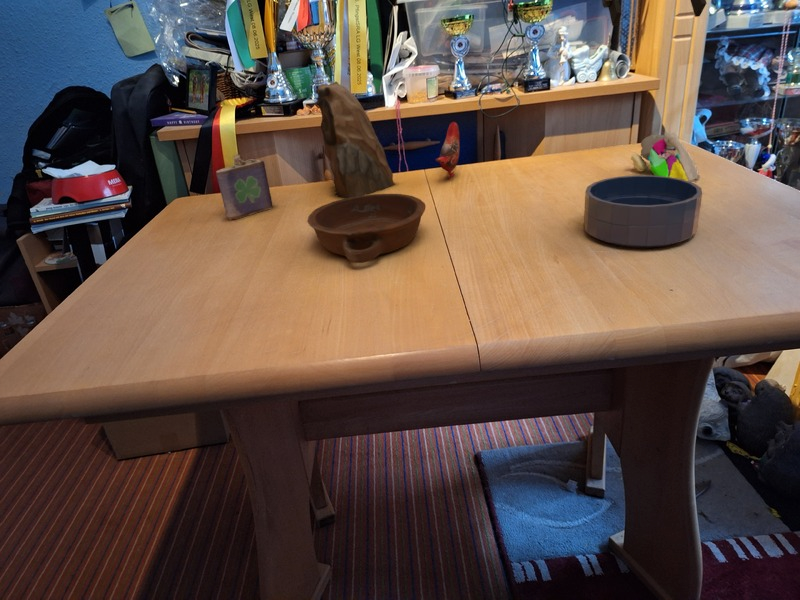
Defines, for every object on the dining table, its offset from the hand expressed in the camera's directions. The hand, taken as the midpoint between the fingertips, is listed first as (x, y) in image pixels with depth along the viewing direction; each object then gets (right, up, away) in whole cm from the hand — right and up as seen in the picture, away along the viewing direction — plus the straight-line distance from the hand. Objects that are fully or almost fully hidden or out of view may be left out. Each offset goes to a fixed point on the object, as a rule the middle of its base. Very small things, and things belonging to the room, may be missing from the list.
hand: (658, 15), depth 93 cm
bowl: (-10, -38, -16) cm, 42 cm away
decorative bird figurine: (-33, -24, +18) cm, 45 cm away
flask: (-71, -31, +12) cm, 78 cm away
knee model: (+2, -28, +2) cm, 28 cm away
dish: (-47, -39, -8) cm, 62 cm away
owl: (-51, -25, +19) cm, 60 cm away
